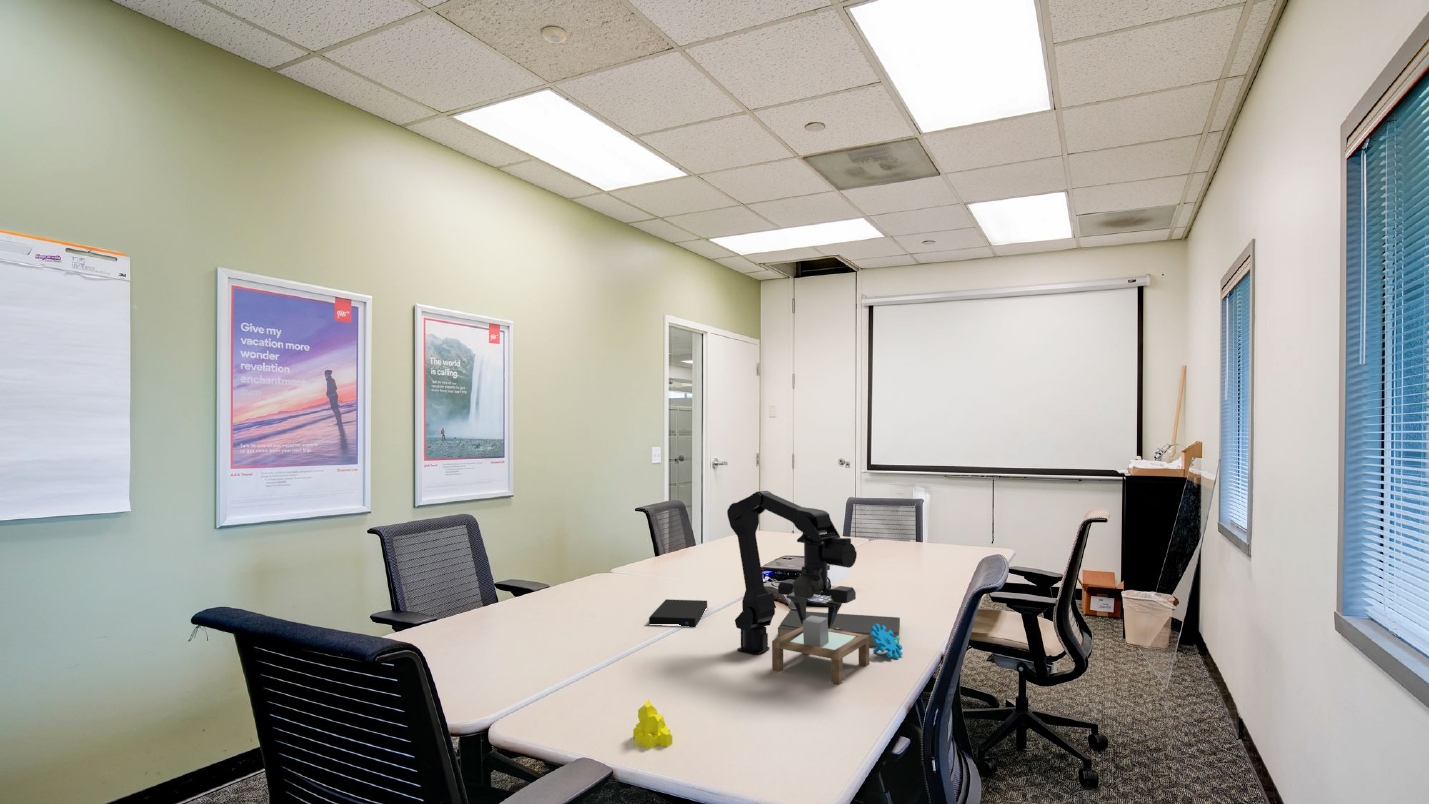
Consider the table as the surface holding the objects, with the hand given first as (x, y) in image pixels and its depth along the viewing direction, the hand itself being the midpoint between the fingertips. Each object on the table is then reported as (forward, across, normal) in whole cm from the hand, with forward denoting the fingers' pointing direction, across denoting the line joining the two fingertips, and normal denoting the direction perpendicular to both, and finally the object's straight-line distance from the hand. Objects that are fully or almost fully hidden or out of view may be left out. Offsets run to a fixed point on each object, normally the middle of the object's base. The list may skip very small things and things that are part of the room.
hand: (816, 626), depth 172 cm
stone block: (+4, 0, 0) cm, 4 cm away
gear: (+11, +10, +21) cm, 26 cm away
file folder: (+11, -9, +33) cm, 36 cm away
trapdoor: (+5, 0, +3) cm, 6 cm away
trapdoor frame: (+10, 0, +2) cm, 11 cm away
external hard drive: (+11, -59, +21) cm, 63 cm away
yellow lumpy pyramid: (+11, -7, -54) cm, 55 cm away
